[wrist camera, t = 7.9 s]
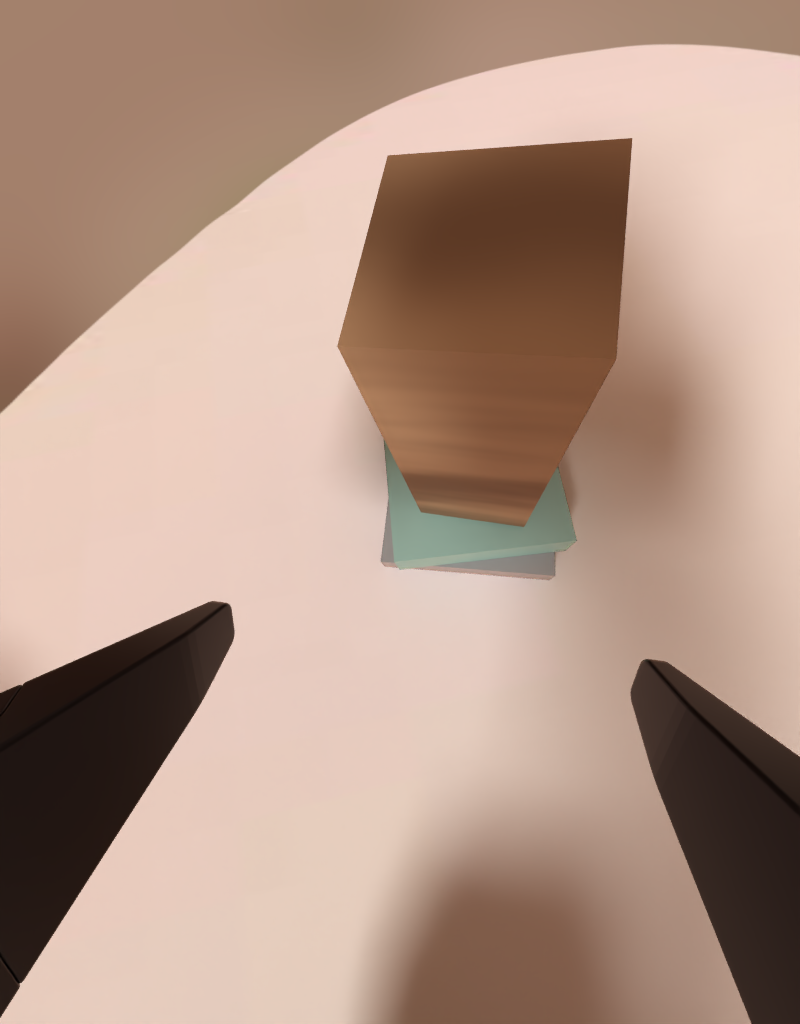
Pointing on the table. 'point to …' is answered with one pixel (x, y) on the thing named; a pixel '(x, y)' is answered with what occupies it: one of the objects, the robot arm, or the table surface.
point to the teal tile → (472, 528)
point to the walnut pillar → (488, 316)
